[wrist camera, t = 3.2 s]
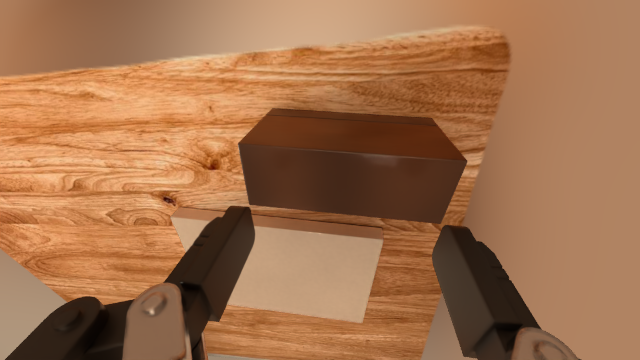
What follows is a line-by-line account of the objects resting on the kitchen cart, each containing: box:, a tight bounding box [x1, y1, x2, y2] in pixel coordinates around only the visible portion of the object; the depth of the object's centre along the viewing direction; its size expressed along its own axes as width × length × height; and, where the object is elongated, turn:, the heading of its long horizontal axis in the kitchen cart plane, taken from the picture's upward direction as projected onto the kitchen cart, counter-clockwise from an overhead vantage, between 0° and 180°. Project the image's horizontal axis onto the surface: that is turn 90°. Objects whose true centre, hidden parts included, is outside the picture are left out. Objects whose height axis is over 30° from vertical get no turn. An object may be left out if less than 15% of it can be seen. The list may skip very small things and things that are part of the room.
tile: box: [170, 207, 384, 323], centre depth 26 cm, size 20×15×2 cm
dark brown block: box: [238, 108, 467, 224], centre depth 15 cm, size 11×4×6 cm, turn 89°
